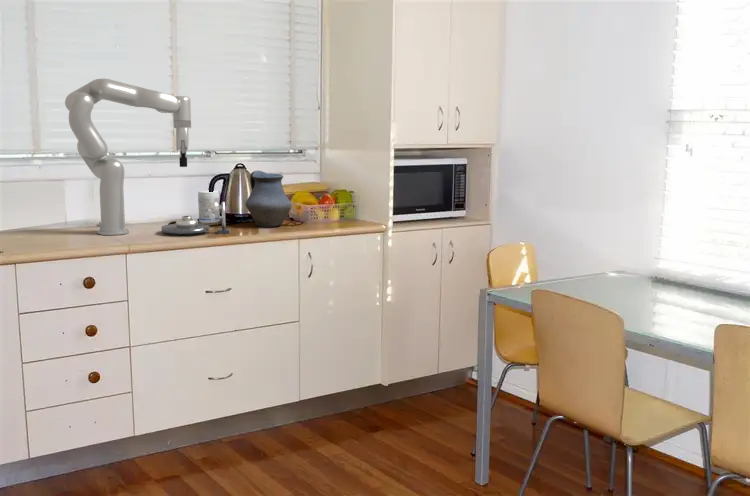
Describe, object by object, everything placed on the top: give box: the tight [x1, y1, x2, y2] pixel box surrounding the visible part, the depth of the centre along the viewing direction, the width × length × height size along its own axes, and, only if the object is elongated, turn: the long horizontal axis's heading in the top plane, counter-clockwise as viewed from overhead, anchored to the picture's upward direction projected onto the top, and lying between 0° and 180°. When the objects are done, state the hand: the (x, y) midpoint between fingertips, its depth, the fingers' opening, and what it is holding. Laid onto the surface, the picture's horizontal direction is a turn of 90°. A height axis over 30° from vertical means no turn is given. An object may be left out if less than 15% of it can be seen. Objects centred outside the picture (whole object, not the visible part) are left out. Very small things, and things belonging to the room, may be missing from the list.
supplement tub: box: [197, 189, 221, 224], centre depth 357 cm, size 10×10×15 cm
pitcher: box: [244, 170, 292, 228], centre depth 348 cm, size 21×22×25 cm
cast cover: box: [175, 215, 199, 229], centre depth 325 cm, size 9×9×5 cm
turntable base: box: [176, 233, 198, 236], centre depth 326 cm, size 10×10×1 cm
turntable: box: [160, 223, 211, 235], centre depth 326 cm, size 20×20×2 cm
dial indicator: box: [208, 201, 231, 235], centre depth 327 cm, size 9×5×14 cm, turn 97°
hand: (183, 166), depth 338 cm, fingers closed
